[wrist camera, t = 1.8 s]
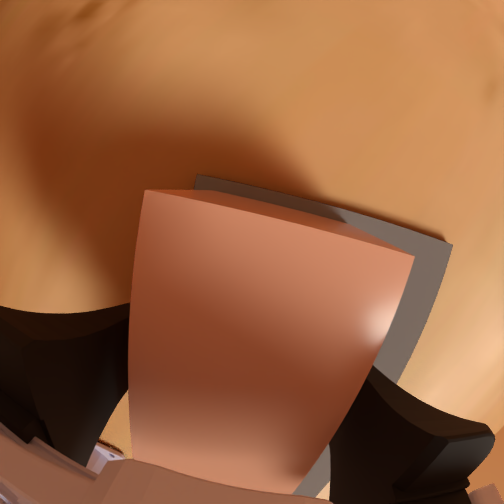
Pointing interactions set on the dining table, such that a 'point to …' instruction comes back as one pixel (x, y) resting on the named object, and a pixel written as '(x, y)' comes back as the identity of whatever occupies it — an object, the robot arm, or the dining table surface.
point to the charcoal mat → (411, 303)
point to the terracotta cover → (250, 334)
